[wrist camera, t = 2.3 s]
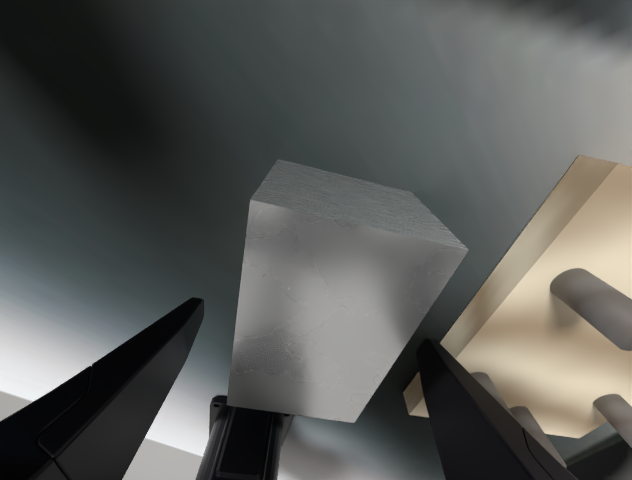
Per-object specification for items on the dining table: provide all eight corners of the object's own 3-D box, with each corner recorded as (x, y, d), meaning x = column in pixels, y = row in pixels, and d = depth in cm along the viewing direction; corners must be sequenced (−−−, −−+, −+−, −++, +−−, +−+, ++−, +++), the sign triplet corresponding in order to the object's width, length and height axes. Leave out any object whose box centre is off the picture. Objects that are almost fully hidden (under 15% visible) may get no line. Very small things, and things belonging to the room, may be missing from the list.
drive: (344, 334, 16) (354, 422, 12) (252, 318, 15) (226, 405, 11) (410, 191, 11) (468, 250, 7) (279, 158, 10) (250, 199, 6)
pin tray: (562, 416, 20) (620, 492, 16) (402, 392, 19) (424, 469, 15) (839, 226, 11) (1114, 292, 7) (579, 154, 10) (746, 190, 6)
